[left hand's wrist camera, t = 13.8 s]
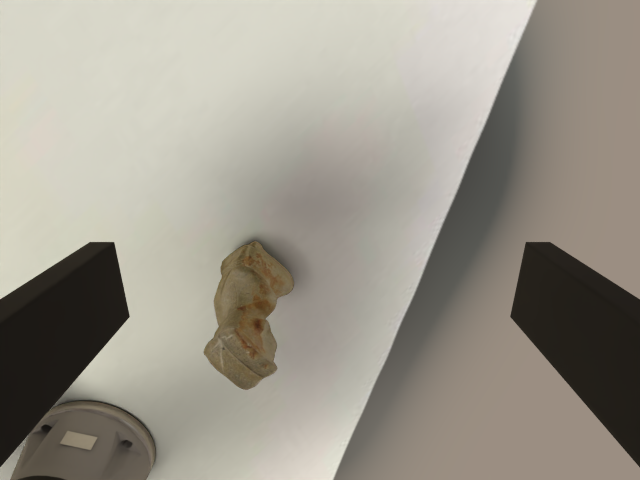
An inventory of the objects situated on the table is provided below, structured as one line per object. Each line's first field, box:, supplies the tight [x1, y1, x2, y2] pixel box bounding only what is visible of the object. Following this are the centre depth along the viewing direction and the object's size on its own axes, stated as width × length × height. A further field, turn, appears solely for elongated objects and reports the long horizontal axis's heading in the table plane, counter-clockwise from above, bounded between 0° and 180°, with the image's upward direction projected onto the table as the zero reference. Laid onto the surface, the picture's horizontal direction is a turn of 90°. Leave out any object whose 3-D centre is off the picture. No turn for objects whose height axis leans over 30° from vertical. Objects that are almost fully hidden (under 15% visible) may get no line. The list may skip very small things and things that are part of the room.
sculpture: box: [204, 241, 294, 390], centre depth 33 cm, size 6×7×15 cm
